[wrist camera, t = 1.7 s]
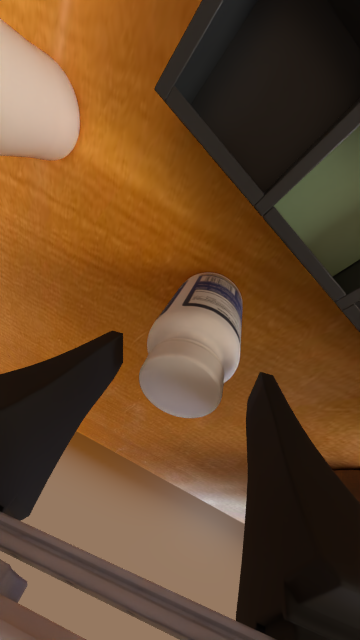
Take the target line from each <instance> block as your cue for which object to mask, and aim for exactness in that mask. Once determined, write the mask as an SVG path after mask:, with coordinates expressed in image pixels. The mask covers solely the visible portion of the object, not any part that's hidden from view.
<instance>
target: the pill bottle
mask: <svg viewBox="0 0 360 640" xmlns="http://www.w3.org/2000/svg"><path fill="white" fill-rule="evenodd" d="M242 308H243V307H242V297H241V294H240V292H239V290H238V288H237V287H236V285H235V284H234V283H233V282H232V281H231V280H229V279H228V278H226V277H225V276H223V275H220V274H217V273H210V272H207V273H200V274H197V275H194V276H192V277H190V278H189V279H188V280H186V281H185V282H184V283H183V284H182V285H181V287H180V288H179V289H178V291H177V292H176V293H175V295H174V296H173V298H172V299H171V301H170V302H169V303H168V305H167V306H166V307H165V309H164V310H163V311H162V313H161V314H160V315H159V317H158V318H157V320H156V321H155V322H154V324H153V326H152V328H151V330H150V332H149V335H148V340H147V349H148V356H147V358H146V360H145V362H144V364H143V365H142V367H141V369H140V373H139V383H140V387H141V389H142V391H143V393H144V394H145V396H146V397H147V398H148V400H149V401H150V402H151V403H152V404H154V405H155V406H156V407H157V408H159V409H161V410H162V411H164V412H166V413H168V414H171V415H174V416H177V417H183V418H198V417H203V416H205V415H208V414H210V413H211V412H213V411H214V410H215V409H216V408H217V407H218V405H219V403H220V401H221V398H222V392H223V386H224V383H225V382H226V381H227V380H229V379H230V378H231V377H232V375H233V374H234V373H235V371H236V369H237V367H238V364H239V360H240V351H241V327H242Z"/></svg>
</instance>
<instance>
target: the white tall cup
mask: <svg viewBox="0 0 360 640" xmlns="http://www.w3.org/2000/svg"><path fill="white" fill-rule="evenodd" d="M79 131H80V112H79V106H78V102H77V98H76V95H75V92H74V89H73V87H72V85H71V83H70V81H69V79H68V77H67V76H66V74H65V72H64V71H63V70H62V68H61V67H60V66H59V65H58V63H57V62H56V61H55V60H54V59H53V58H51V57H50V56H49V55H48V54H46V53H45V52H44V51H42V50H41V49H39V48H38V47H37V46H35V45H34V44H32V43H31V42H29V41H28V40H27V39H25V38H24V37H23V36H21V35H20V34H19V33H18V32H17V31H15V30H14V29H13V28H12V27H10V26H9V25H8V24H7V23H6V22H4V21H3V20H2V19H1V18H0V156H12V157H28V158H36V159H42V160H49V161H55V160H60V159H62V158H64V157H66V156H67V155H68V154H70V152H71V151H72V150H73V148H74V147H75V145H76V142H77V140H78V136H79Z"/></svg>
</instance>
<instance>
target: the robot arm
mask: <svg viewBox="0 0 360 640" xmlns="http://www.w3.org/2000/svg"><path fill="white" fill-rule="evenodd" d="M122 363H123V333H120V332H116V331H110V332H108V333H106V334H104V335H102V336H100V337H98V338H96V339H94V340H92V341H90V342H88V343H85V344H83V345H81V346H79V347H77V348H75V349H73V350H70V351H68V352H66V353H63V354H61V355H59V356H56V357H54V358H51V359H48V360H46V361H43V362H40V363H37V364H34V365H31V366H28V367H25V368H21V369H18V370H14V371H11V372H7V373H4V374H0V551H2V552H4V553H6V554H8V555H10V556H12V557H14V558H16V559H19V560H20V561H22V562H24V563H26V564H28V565H30V566H32V567H34V568H36V569H38V570H40V571H42V572H44V573H47V574H49V575H51V576H53V577H55V578H57V579H59V580H61V581H63V582H65V583H67V584H69V585H71V586H73V587H75V588H77V589H79V590H81V591H83V592H85V593H87V594H89V595H91V596H93V597H95V598H97V599H99V600H101V601H103V602H105V603H107V604H109V605H111V606H113V607H115V608H117V609H119V610H121V611H123V612H125V613H127V614H129V615H131V616H133V617H135V618H137V619H139V620H141V621H143V622H145V623H147V624H149V625H151V626H153V627H155V628H157V629H159V630H161V631H164V632H165V633H168V634H169V635H172V636H174V637H176V638H178V639H180V640H360V502H359V501H358V500H357V499H356V498H355V497H354V496H353V494H352V493H351V492H350V491H349V490H348V488H347V487H346V486H345V485H344V484H343V482H342V481H341V480H340V479H339V477H338V476H337V475H336V474H335V473H334V471H333V470H332V469H331V467H330V466H329V465H328V464H327V462H326V461H325V460H324V458H323V457H322V455H321V454H320V453H319V451H318V450H317V449H316V447H315V446H314V444H313V443H312V442H311V440H310V439H309V437H308V436H307V434H306V432H305V431H304V429H303V428H302V426H301V425H300V423H299V421H298V420H297V418H296V416H295V415H294V413H293V411H292V409H291V408H290V406H289V404H288V402H287V400H286V399H285V397H284V395H283V393H282V391H281V389H280V387H279V385H278V383H277V382H276V380H275V378H274V376H273V375H270V374H266V373H263V372H260V373H259V376H258V378H257V380H256V382H255V385H254V387H253V389H252V391H251V394H250V396H249V398H248V402H247V413H246V437H247V463H248V482H247V500H246V515H245V531H244V541H243V554H242V565H241V574H240V584H239V593H238V602H237V611H236V621H235V620H233V619H230V618H229V617H226V616H224V615H222V614H220V613H218V612H216V611H213V610H211V609H209V608H207V607H205V606H202V605H200V604H198V603H196V602H194V601H192V600H190V599H187V598H185V597H183V596H181V595H179V594H177V593H174V592H172V591H170V590H168V589H166V588H163V587H162V586H159V585H157V584H155V583H153V582H151V581H149V580H146V579H144V578H142V577H140V576H138V575H136V574H133V573H131V572H129V571H127V570H125V569H123V568H120V567H118V566H116V565H114V564H112V563H110V562H107V561H105V560H103V559H101V558H99V557H97V556H94V555H92V554H90V553H88V552H86V551H84V550H82V549H79V548H77V547H75V546H72V545H71V544H69V543H66V542H64V541H62V540H60V539H58V538H56V537H54V536H51V535H49V534H47V533H45V532H43V531H41V530H38V529H36V528H34V527H32V526H30V525H27V524H25V523H23V522H21V520H23V519H24V518H26V517H28V516H29V515H30V513H31V511H32V509H33V507H34V505H35V503H36V501H37V500H38V497H39V496H40V494H41V492H42V490H43V488H44V486H45V484H46V482H47V480H48V478H49V477H50V475H51V473H52V471H53V469H54V468H55V466H56V464H57V462H58V461H59V459H60V457H61V455H62V454H63V452H64V450H65V448H66V447H67V445H68V443H69V442H70V440H71V438H72V437H73V435H74V433H75V432H76V430H77V429H78V427H79V425H80V424H81V422H82V421H83V419H84V418H85V416H86V415H87V413H88V412H89V411H90V409H91V408H92V407H93V405H94V404H95V403H96V401H97V400H98V399H99V397H100V396H101V395H102V394H103V392H104V391H105V390H106V388H107V387H108V386H109V384H110V383H111V382H112V380H113V379H114V377H115V376H116V374H117V372H118V371H119V369H120V367H121V365H122ZM26 587H27V581H26V580H24V579H23V578H22V577H20V576H19V575H18V574H17V573H16V572H14V571H13V570H12V569H11V566H10V565H9V564H7V563H5V562H4V561H2V560H0V640H86V639H84V638H82V637H80V636H79V635H77V634H75V633H73V632H71V631H69V630H67V629H65V628H64V627H62V626H60V625H58V624H56V623H54V622H52V621H50V620H49V619H47V618H45V617H43V616H41V615H39V614H37V613H35V612H33V611H31V610H30V609H28V608H26V607H24V606H22V605H20V604H18V601H19V599H20V598H21V596H22V594H23V592H24V590H25V589H26Z"/></svg>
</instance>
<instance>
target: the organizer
mask: <svg viewBox="0 0 360 640" xmlns="http://www.w3.org/2000/svg"><path fill="white" fill-rule="evenodd" d="M155 91H156V92H157V93H158V94H159V96H160V97H161V98H162V99H163V100H164V101H165V103H166V104H167V105H168V106H169V107H170V109H171V110H172V111H173V112H174V113H175V115H176V116H177V117H178V118H179V119H180V120H181V122H182V123H183V124H184V125H185V126H186V128H187V129H188V130H189V131H190V132H191V133H192V135H193V136H194V137H195V138H196V139H197V141H198V142H199V143H200V144H201V145H202V146H203V148H204V149H205V150H206V151H207V152H208V154H209V155H210V156H211V157H212V158H213V159H214V161H215V162H216V163H217V164H218V165H219V167H220V168H221V169H222V170H223V171H224V172H225V174H226V175H227V176H228V177H229V178H230V180H231V181H232V182H233V183H234V184H235V185H236V187H237V188H238V189H239V190H240V191H241V193H242V194H243V195H244V196H245V197H246V198H247V200H248V201H249V202H250V203H251V204H252V206H254V208H255V209H256V210H257V211H258V213H259V214H260V215H261V216H262V217H263V219H264V220H265V221H266V222H267V223H268V224H269V226H270V227H271V228H272V229H273V230H274V232H275V233H276V234H277V235H278V236H279V237H280V239H281V240H282V241H283V242H284V243H285V245H286V246H287V247H288V248H289V249H290V250H291V252H292V253H293V254H294V255H295V256H296V258H297V259H298V260H299V261H300V262H301V263H302V265H303V266H304V267H305V268H306V269H307V271H308V272H309V273H310V274H311V275H312V276H313V278H314V279H315V280H316V281H317V282H318V284H319V285H320V286H321V287H322V288H323V289H324V291H325V292H326V293H327V294H328V295H329V297H330V298H331V299H332V300H333V301H334V302H335V304H336V305H337V306H338V307H339V308H340V310H341V311H342V312H343V313H344V314H345V316H346V317H347V318H348V319H349V320H350V321H351V323H352V324H353V325H354V326H355V327H356V329H357V330H358V331H359V332H360V0H202V2H201V3H200V5H199V7H198V9H197V11H196V13H195V15H194V16H193V18H192V20H191V22H190V24H189V26H188V27H187V29H186V31H185V33H184V35H183V37H182V38H181V40H180V42H179V44H178V46H177V48H176V49H175V51H174V53H173V55H172V57H171V59H170V60H169V62H168V64H167V66H166V68H165V70H164V71H163V73H162V75H161V77H160V79H159V81H158V83H157V84H156V86H155Z"/></svg>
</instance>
